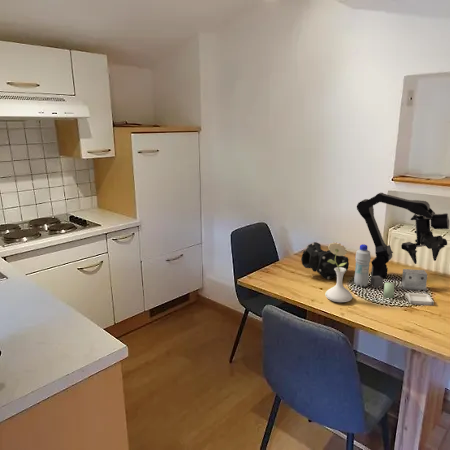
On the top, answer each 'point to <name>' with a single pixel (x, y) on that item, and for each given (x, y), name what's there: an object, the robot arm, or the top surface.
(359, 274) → the bottle
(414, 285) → the block
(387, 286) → the pale green rounded cylinder
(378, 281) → the grey block
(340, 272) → the flower in vase
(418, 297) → the tray
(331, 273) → the valve
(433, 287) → the top surface
